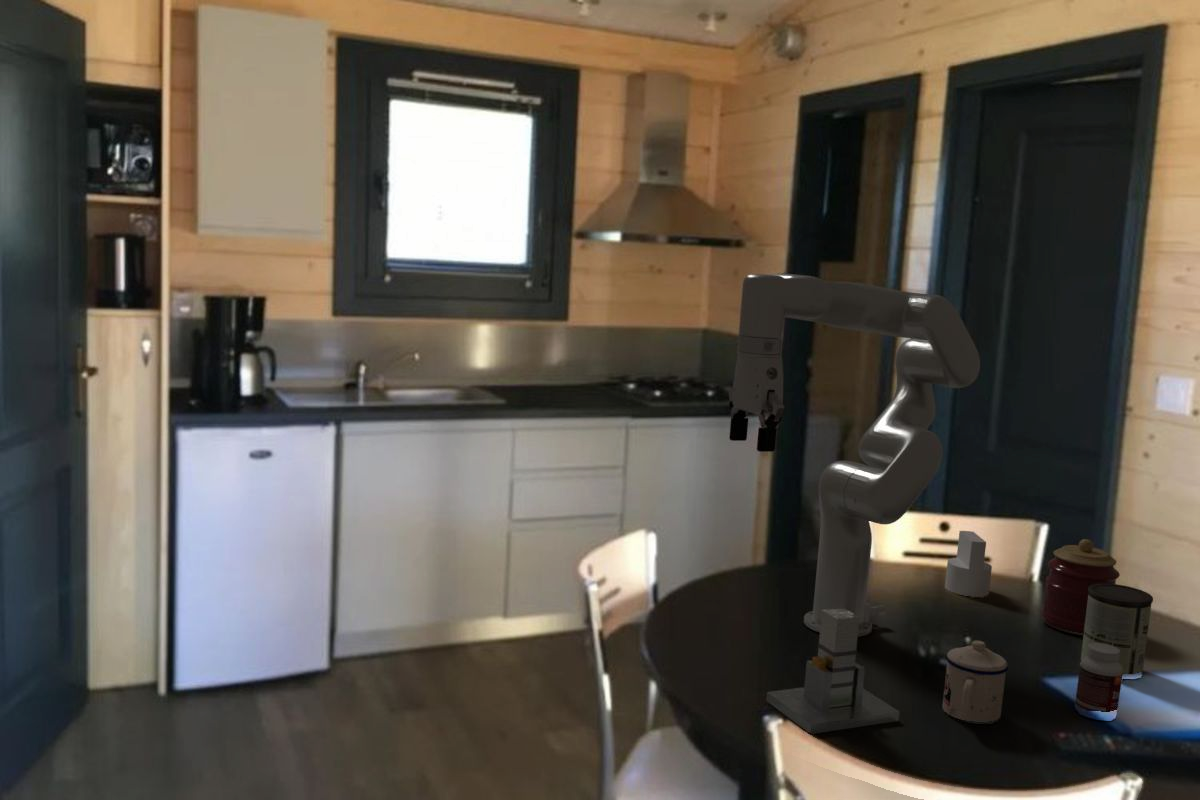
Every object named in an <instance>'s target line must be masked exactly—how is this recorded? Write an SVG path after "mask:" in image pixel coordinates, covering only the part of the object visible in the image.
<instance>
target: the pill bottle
mask: <svg viewBox="0 0 1200 800" xmlns="http://www.w3.org/2000/svg"><path fill="white" fill-rule="evenodd" d="M1087 654H1088V656H1086V657H1084V658H1082V660H1081V659H1080V660H1081V662H1080V661H1079V671H1078V677H1077V678H1078V679H1077V686H1076V694H1075V702H1074V705H1075V704H1076V705H1077V706H1078V707H1079V708H1080V709H1084V710H1086V711H1101V712H1110V711H1114V710H1117V709H1118V710H1119V704H1120V703H1119V702H1120V694H1121V687H1122V675H1123V668H1122V666H1121V665H1120V664H1119V663H1118V662H1117V661H1118V660H1119V658H1120V650H1119V649H1118V648H1116V647H1114V646H1112V645H1108V644H1104V643H1089V644H1088V647H1087Z"/></svg>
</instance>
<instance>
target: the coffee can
mask: <svg viewBox="0 0 1200 800" xmlns="http://www.w3.org/2000/svg"><path fill="white" fill-rule="evenodd" d="M1153 601H1154V597H1153V596H1152V595H1151V594H1150V593H1149V592H1146V591H1144V590H1142V589H1140V588H1136V587H1131V586H1128V585H1122V584H1117V583H1116V584H1105V583H1102V584H1093V585H1090V586H1089V587H1088V601H1087V609H1086V617H1085V627H1084V635H1083V636H1082V643H1081V655H1080V660H1082V658H1084V657H1086V656H1088V654H1087V647H1088V644H1089V643H1104V644H1108V645H1112V646H1114V647H1116V648H1118V649H1119V650H1120V658H1119V660H1118V661H1117V662H1118V663H1119V664H1120V665H1121V666H1122V668H1123V674H1135V673H1139V672H1142V671H1143V672H1144V665H1145V656H1146V649H1147V648H1146V647H1147V640H1148V633H1149V625H1150V619H1151V618H1150V617H1151V610H1152V604H1153Z"/></svg>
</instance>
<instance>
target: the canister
mask: <svg viewBox="0 0 1200 800" xmlns="http://www.w3.org/2000/svg"><path fill="white" fill-rule="evenodd" d="M1053 555H1054V556H1055V557H1054V558H1052V559H1049V560H1048V562H1047V567H1048V568H1049V572H1048V576H1047V577H1046V578H1045V589H1044V590H1045V591H1044V597H1043V598H1044V599H1043V605H1042V607H1041V616H1042V619H1043V621H1044V622H1046V623H1047V624H1049V625H1051V626H1054V627H1057V628H1060V629H1063V630H1068V631H1072V632H1078V633H1084V627H1085V617H1086V609H1087V601H1088V587H1089V586H1090V585H1093V584H1102V583H1105V584H1117V583H1116V582H1117V579H1119V577H1120V576H1121V575H1120V572H1119V571H1118V570H1117V569H1116V568H1115V565H1116V564H1117V560H1116V559H1115V558H1114V557H1113V556H1111V555H1110V553H1108V552H1107V551H1105V550H1103V549H1099V548H1096V547H1094V543H1093V542H1092V540H1091V539H1087V538H1083V539H1081V540H1080V541H1079V543H1078V545H1077V544H1067V545H1063V546H1062V547H1061V548H1060V547H1059V548H1057V549H1056V550H1053ZM1042 619H1041V620H1042ZM1043 621H1042V622H1043ZM1044 622H1043V623H1044Z"/></svg>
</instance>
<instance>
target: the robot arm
mask: <svg viewBox="0 0 1200 800" xmlns="http://www.w3.org/2000/svg"><path fill="white" fill-rule="evenodd" d="M741 289H742V292H741V299H740V300H741V303H740V311H739V312H740V313H739V326H738V327H739V328H738V341H737V349H736V350H737V351H736V354H737V358H736V363H735V369H734V375H733V383H732V388H731V389H729V390H728V399H729V404H728V406H729V409H730V412H729V416H730V424H729V425H730V427H729V440H730V441H732V442H734V441H735V442H739V441H741V442H742V441H743V442H744V441H747V439H748V438H747V437H748V429H749V428H748V427H749V417H747V416H748V415H749V414H752V415H755V416H757V417H758V420H759V424H760V427H758V429H757V430H758V432H757V441H756V442H757V443H756V444H757V445H756V451H757V452H761V453H762V452H766V453H767V452H768V453H769V452H770V453H771V452H775V450H776V441H777V440H776V439H777V429H778V428H779V427H780V426H779V423H780V422H781V421H782V415H783V413H784V410H785V404H783V403H784V402H783V401H784V366H783V358H782V355H783V353H782V352H783V343H784V342H783V341H784V339H783V338H784V331H785V330H784V328H785V318H789V319H795V320H801V321H806V322H813V323H817V324H823V325H827V326H831V327H834V328H838V329H845V330H851V331H857V332H863V333H864V332H865V333H869V334H878V335H883V336H888V337H889V336H890V337H896V338H903V339H904V338H905V339H906V340H905V341H903V342H902V343H901V344H900V346H899V347H898V350H897V352H896V356H895V370H896V389H895V391H894V392H895V393H894V396H893V398H892V399H891V401H890V402H889V403H888V405H887V406H886V407H885V409H883V411H882V412H881V413H880V414H879V416H878V417H877V418H876V419H875V420H874V422H873V423H872V424H871V425H870V426H869V427H868V429H867V430H866V431H865V432H864V433H863V436H862V437H861V439H860V441H859V444H858V448H857V449H858V450H857V451H858V456H859V458H860V459H861V461H863V462H864V464H863V463H860V462H856V461H852V460H836V461H833V462H832V463H829V465H827V466H826V467H825V469H823V470H822V473H821V475H820V477H819V480H818V500H819V501H818V502H819V508H820V529H819V531H820V532H819V543H818V552H817V564H816V572H815V573H816V575H815V585H814V594H813V595H814V598H813V605H812V606H813V607H812V611H811V610H810V611H809V612H806V613H805V614H804V616H803V623H804V625H805V626H806V627H807V628H808V629H810V630H812V631H814V632H817V633H819V634H820V626H821V615H822V610H830V609H841V608H844V609H846V610H848V611H850V612H851V613H853V614H855V615H857V616H859V627H858V637H857V638H860V637H864V636H867V635H869V634H871V632H872V629H873V624H872V622H871V621H870V619H872V618H873V616H874V617H879V616H885V615H886V613H887V608H886V607H885V605H883V604H880V605H878V604H877V605H872V604H871V603H870V602H867V595H868V594H867V593H868V583H869V574H870V563H871V553H872V543H873V539H872V538H873V535H872V528H871V524H870V522H871V523H874V524H878V525H891V524H893V523H895V522H898V521H899V520H900V519H901V518H902V517H903V516H904V515H905V514H906V513H907V512H908V510H910V508H911V507H912V506H913V504H914V503H915V502H916V500H917V499H918V498H919V497H920V496H921V495H922V493H923V492H924V490H925V489H926V488H927V487H928V485H929V484H930V483H931V482H932V481H933V479H934V478H935V477H936V475H937V474H938V472H939V470H940V467H941V465H942V462H943V461H942V460H943V455H944V453H943V452H944V449H943V444H942V442H941V440H940V438H939V436H937V434H935V433H934V432H933V431H930V430H929V428H930V426H931V425H932V423H933V421H934V420H935V419H934V418H935V416H936V400H935V395H934V389H933V385H936V386H942V387H946V388H953V389H961V388H966V387H968V386H970V385H971V384H973V383H974V382H975V380H976V379H977V378H978V376H979V373H980V370H981V358H980V354H979V351H978V349H977V347H976V345H975V343H974V340H973V339H972V337H971V335H970V333H969V331H968V328H967V327H966V326H965V323H964V321H963V320H962V318H961V316H960V314H959V313H958V311H957V310H956V308H955V307H954V305H953V304H952V303H951V302H950V301H949V300H948V299H947V298H945V296H942V295H939V294H932V293H931V294H928V293H922V292H921V293H920V292H912V291H904V290H900V289H899V290H898V289H893V288H887V287H882V286H877V285H872V284H867V283H863V282H862V283H861V282H860V283H859V282H852V281H851V282H850V281H828V280H823V279H821V278H819V277H817V276H811V275H805V274H804V275H803V274H794V273H793V274H791V273H781V272H780V273H778V272H777V273H772V274H766V273H765V274H764V273H762V274H761V273H752V274H751V273H750V274H748V275H746V276H745V277H744V278H743V282H742V288H741ZM766 417H767V418H766Z"/></svg>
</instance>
